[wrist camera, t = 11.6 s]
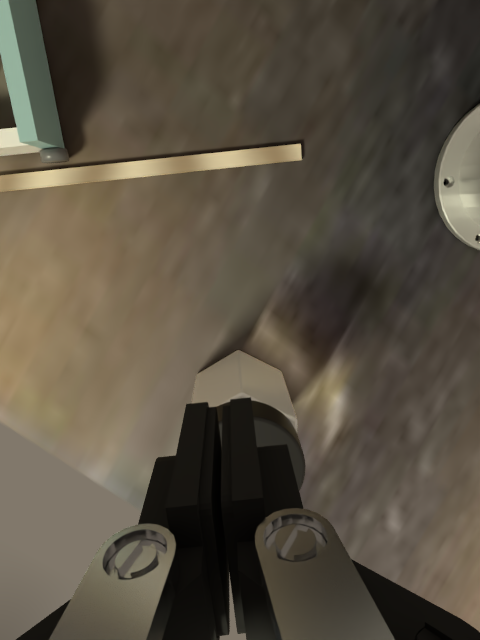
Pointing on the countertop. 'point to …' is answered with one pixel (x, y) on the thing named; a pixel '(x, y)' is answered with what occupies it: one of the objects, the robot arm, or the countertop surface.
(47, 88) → the green frame
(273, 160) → the track
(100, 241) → the countertop surface
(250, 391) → the jar
